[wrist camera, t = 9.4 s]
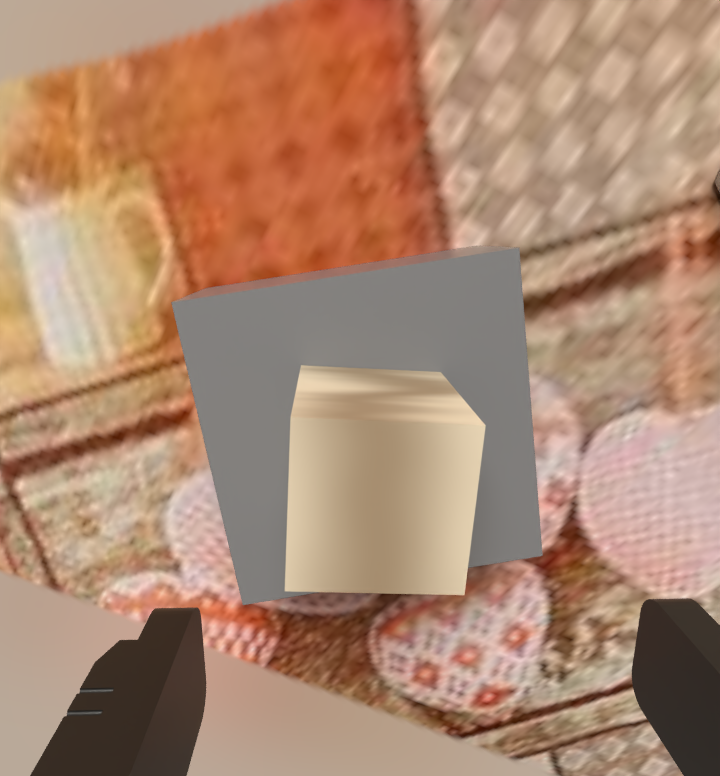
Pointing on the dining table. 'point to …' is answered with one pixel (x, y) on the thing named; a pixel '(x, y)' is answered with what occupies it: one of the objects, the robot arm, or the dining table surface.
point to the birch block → (380, 482)
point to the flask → (718, 181)
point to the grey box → (360, 350)
